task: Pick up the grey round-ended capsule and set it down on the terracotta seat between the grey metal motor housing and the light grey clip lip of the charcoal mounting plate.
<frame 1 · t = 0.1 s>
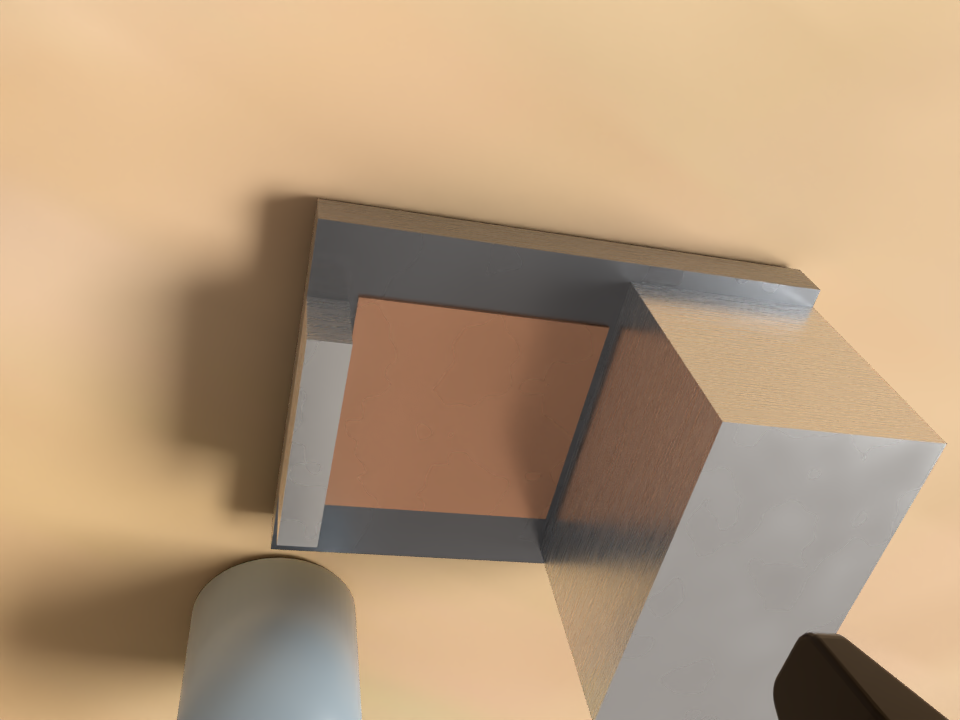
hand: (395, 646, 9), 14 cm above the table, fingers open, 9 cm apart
motor mount: (527, 399, 26), on the table
grey round-ended capsule: (274, 617, 28), on the table
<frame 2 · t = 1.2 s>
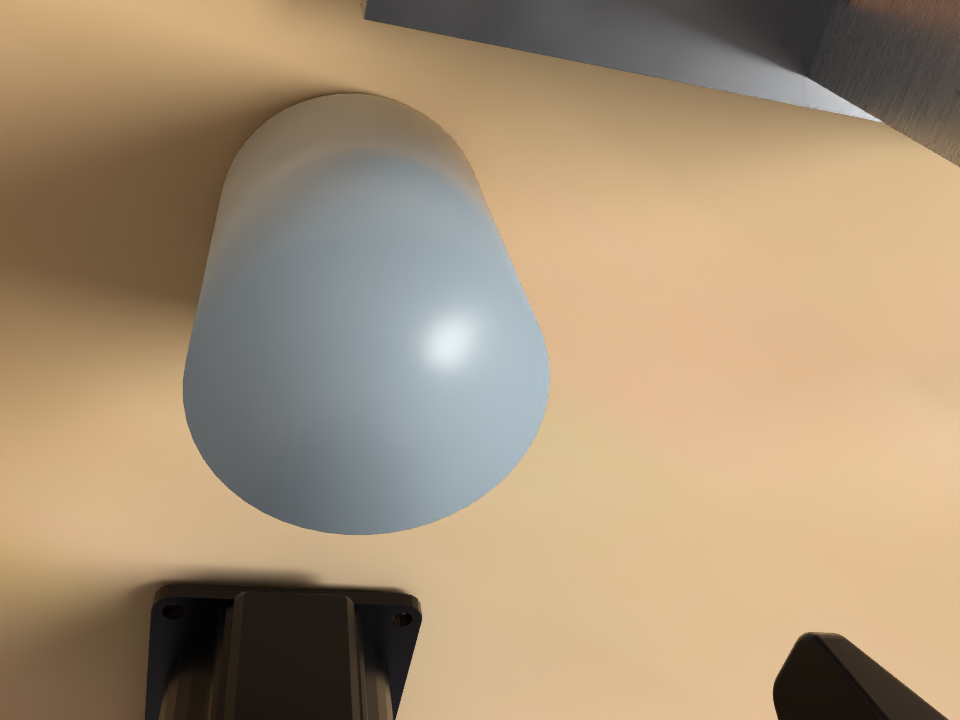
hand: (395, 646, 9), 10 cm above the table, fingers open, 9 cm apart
grey round-ended capsule: (354, 223, 18), on the table
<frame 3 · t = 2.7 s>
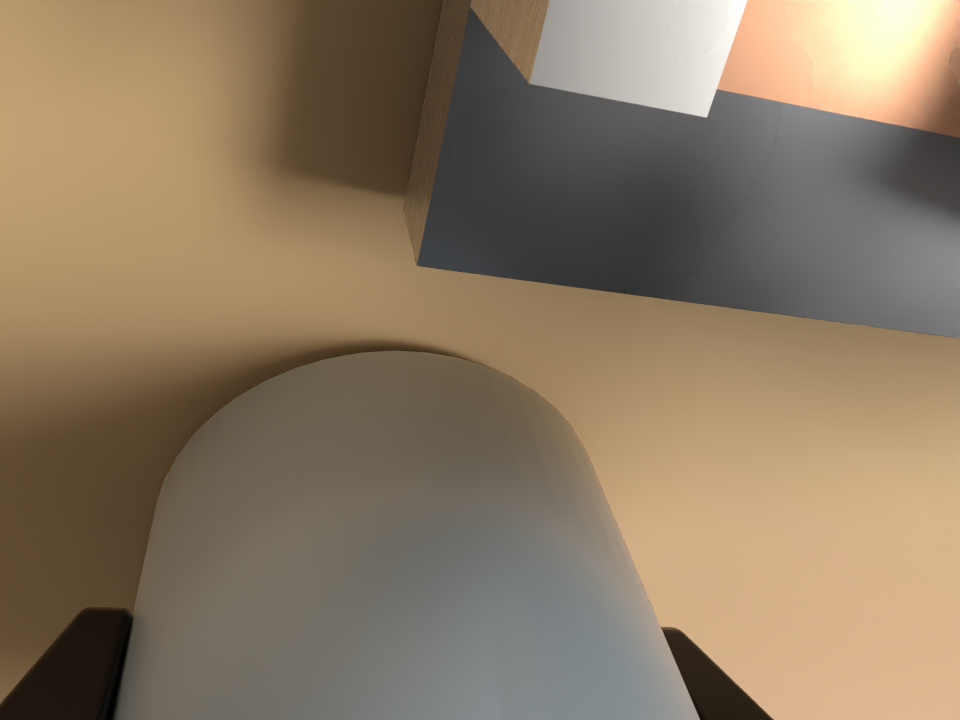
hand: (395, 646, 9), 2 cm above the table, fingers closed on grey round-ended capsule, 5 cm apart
grey round-ended capsule: (384, 539, 10), on the table, touching gripper
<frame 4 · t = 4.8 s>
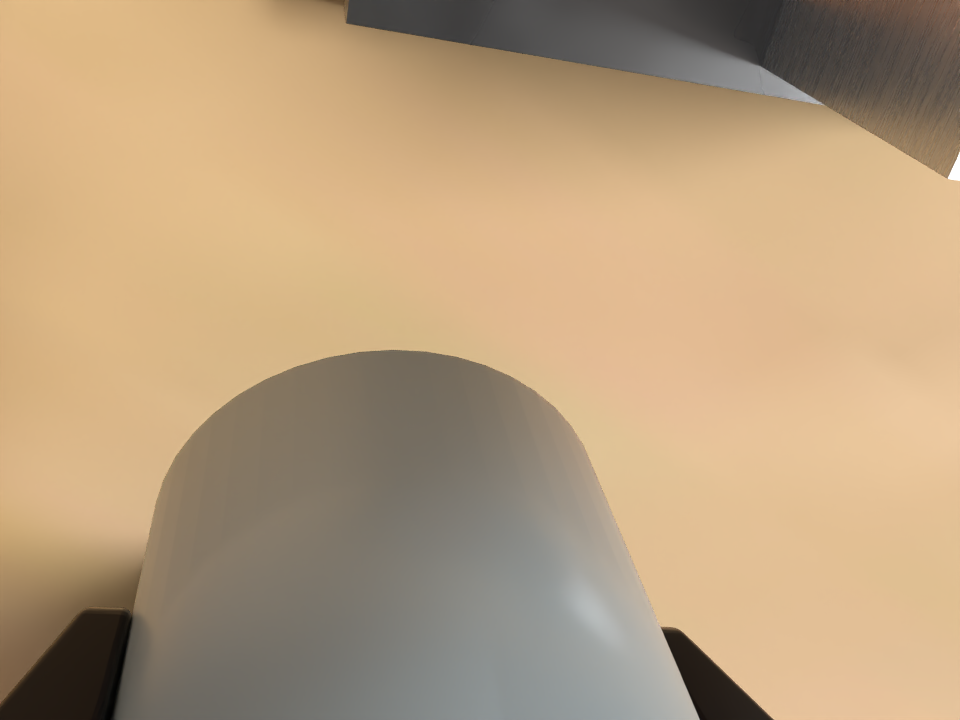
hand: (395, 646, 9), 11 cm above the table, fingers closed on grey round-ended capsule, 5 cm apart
grey round-ended capsule: (384, 538, 10), point 10 cm above the table, touching gripper
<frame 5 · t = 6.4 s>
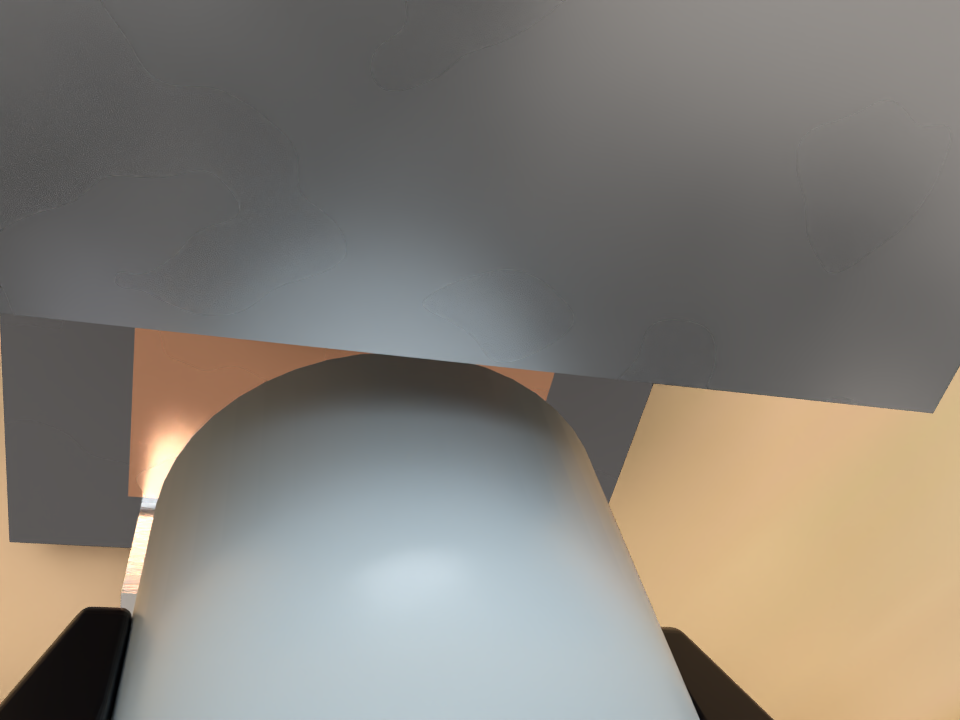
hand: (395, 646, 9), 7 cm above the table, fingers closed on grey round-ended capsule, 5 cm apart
motor mount: (374, 186, 14), on the table
grey round-ended capsule: (384, 541, 10), point 6 cm above the table, touching gripper
when the fingers open (4 cm above the table, at t = 7.3 s): grey round-ended capsule drops 1 cm, resting on motor mount.
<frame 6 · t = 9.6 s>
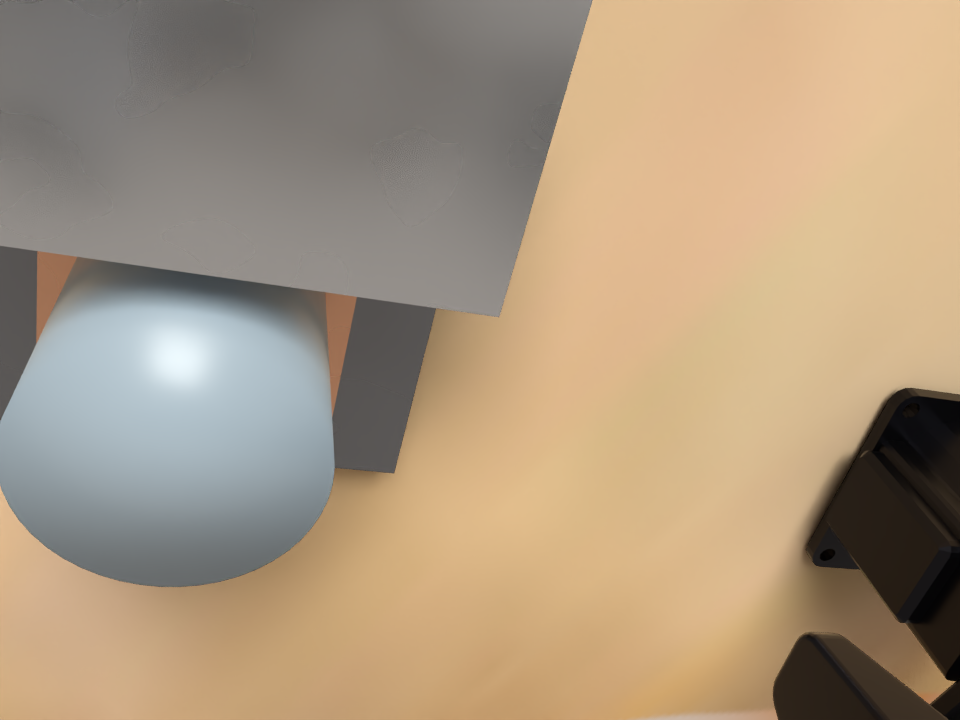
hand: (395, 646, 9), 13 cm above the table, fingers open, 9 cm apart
motor mount: (217, 175, 19), on the table
grey round-ended capsule: (204, 291, 19), point 1 cm above the table, touching motor mount
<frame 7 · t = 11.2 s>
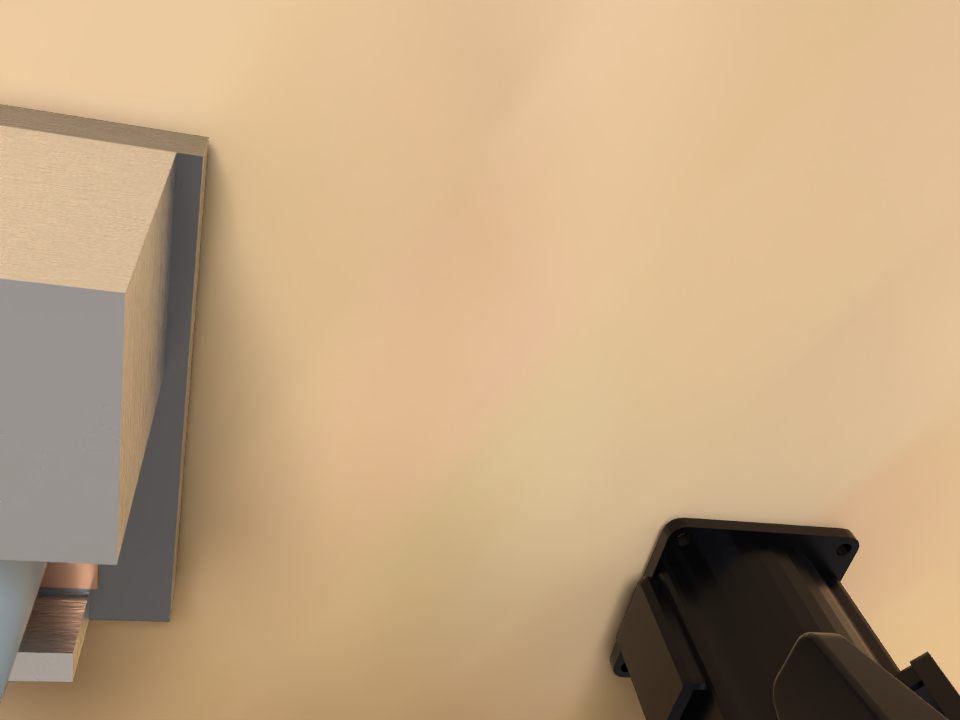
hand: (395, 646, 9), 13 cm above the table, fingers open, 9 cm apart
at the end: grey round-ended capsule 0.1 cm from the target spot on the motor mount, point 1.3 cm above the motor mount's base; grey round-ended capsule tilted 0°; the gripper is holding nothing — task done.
